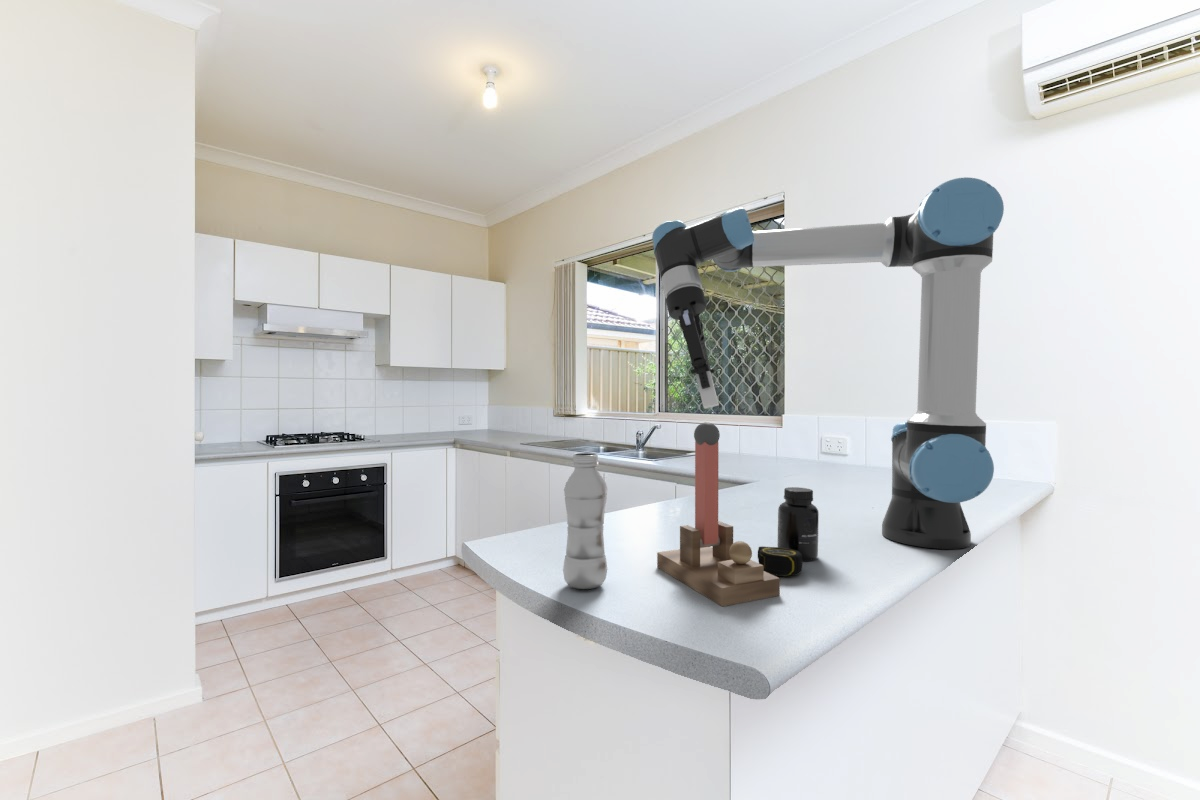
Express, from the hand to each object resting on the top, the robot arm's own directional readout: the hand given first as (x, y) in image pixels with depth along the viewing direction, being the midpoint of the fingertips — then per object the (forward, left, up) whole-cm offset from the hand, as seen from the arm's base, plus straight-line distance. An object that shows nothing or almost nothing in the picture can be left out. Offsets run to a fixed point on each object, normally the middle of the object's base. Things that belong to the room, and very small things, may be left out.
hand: (711, 406), depth 99 cm
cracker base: (+2, +16, -27) cm, 31 cm away
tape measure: (-9, +11, -27) cm, 31 cm away
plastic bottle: (+22, +19, -27) cm, 40 cm away
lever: (+3, +14, -21) cm, 25 cm away
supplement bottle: (-15, +3, -27) cm, 31 cm away
